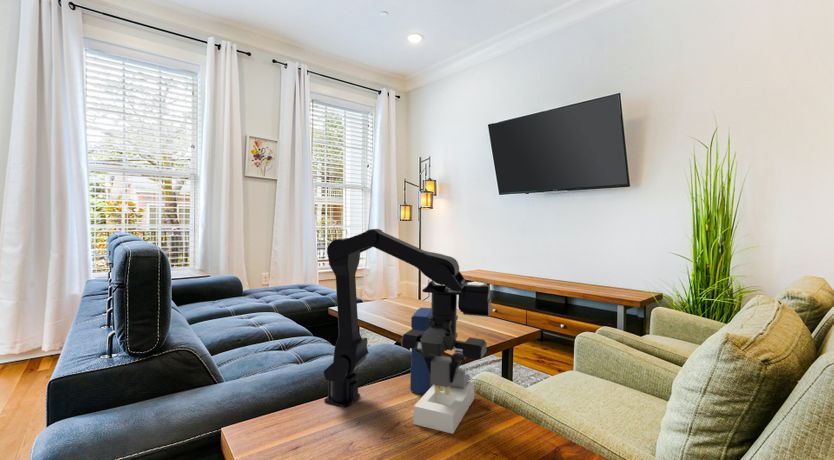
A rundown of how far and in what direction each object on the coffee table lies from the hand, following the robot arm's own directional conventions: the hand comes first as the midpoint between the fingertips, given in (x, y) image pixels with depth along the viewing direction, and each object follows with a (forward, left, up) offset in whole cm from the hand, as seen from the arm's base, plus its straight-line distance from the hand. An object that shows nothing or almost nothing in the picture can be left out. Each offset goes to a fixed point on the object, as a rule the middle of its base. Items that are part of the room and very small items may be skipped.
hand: (442, 380), depth 89 cm
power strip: (0, +3, -8) cm, 9 cm away
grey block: (0, +9, -4) cm, 10 cm away
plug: (0, 0, -3) cm, 3 cm away
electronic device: (-10, +13, -8) cm, 18 cm away
